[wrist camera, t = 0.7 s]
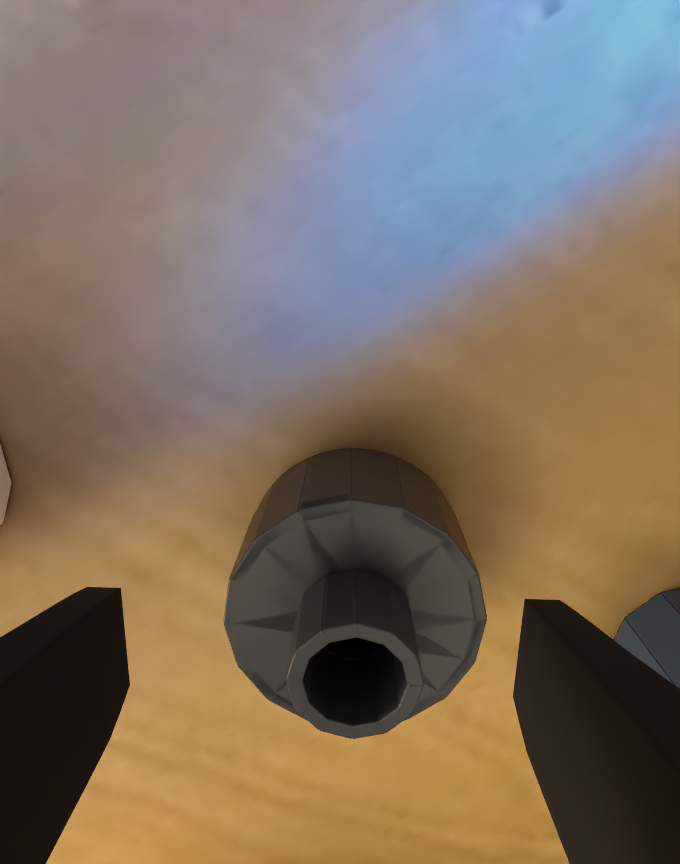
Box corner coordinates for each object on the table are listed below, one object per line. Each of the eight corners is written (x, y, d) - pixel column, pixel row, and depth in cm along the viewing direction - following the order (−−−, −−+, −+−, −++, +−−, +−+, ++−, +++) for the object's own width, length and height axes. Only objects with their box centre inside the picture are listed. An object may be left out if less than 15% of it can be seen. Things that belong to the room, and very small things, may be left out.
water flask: (473, 614, 22) (527, 776, 15) (280, 650, 22) (249, 822, 16) (437, 427, 20) (481, 517, 13) (226, 472, 20) (164, 580, 14)
